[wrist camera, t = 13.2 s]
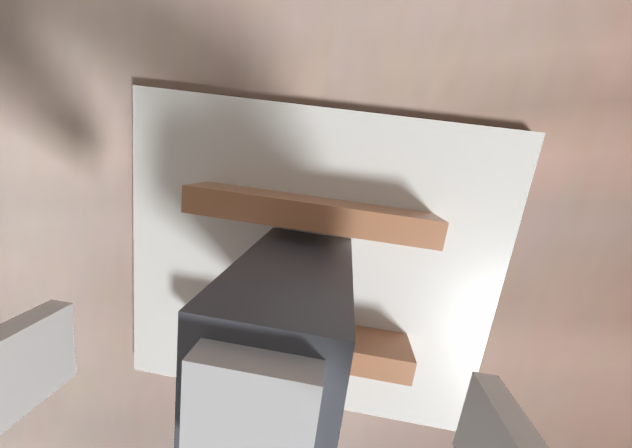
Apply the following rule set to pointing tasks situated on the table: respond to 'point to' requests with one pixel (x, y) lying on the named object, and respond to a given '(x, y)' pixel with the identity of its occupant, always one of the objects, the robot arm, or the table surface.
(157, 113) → the end holder
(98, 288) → the table surface
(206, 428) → the connector plug
